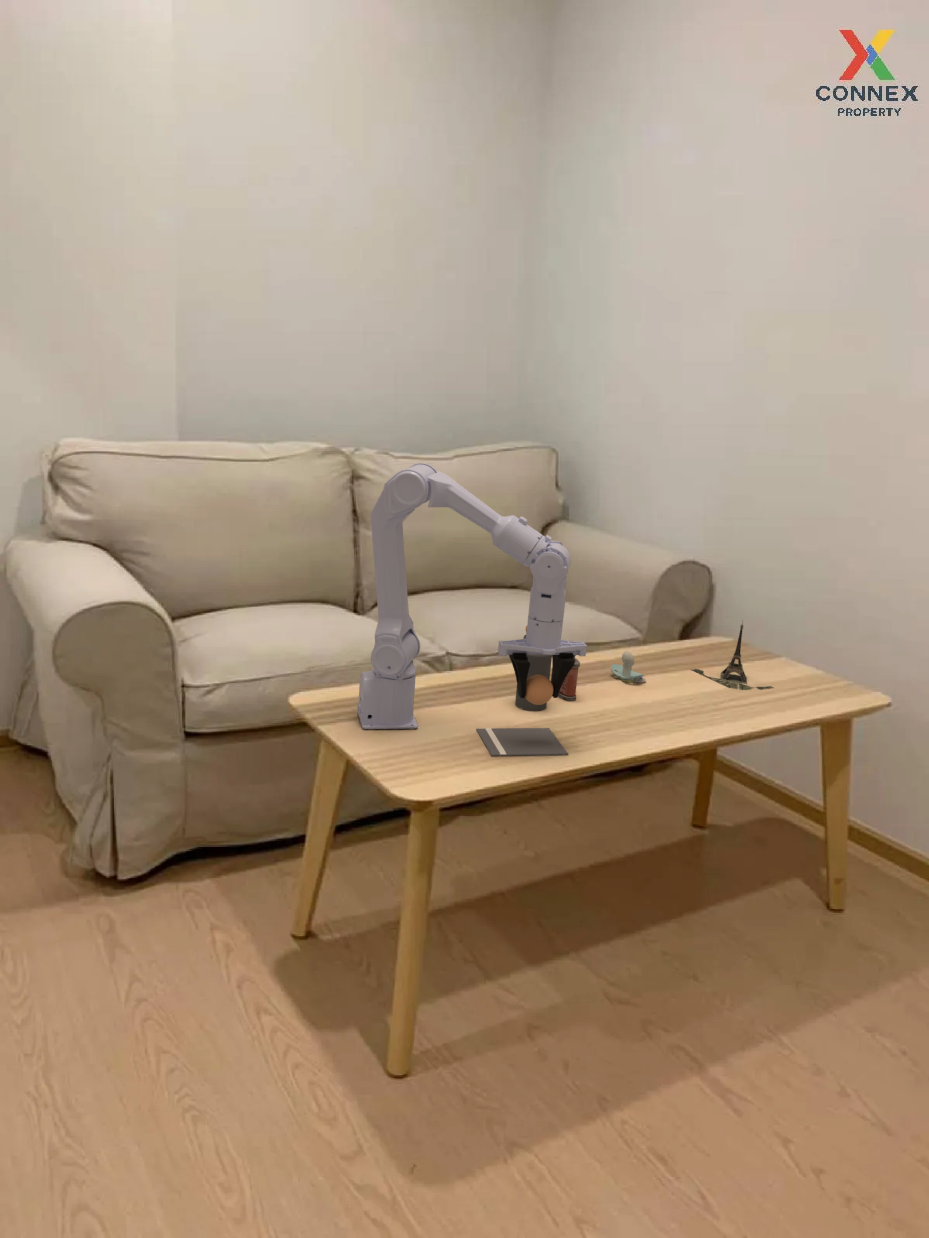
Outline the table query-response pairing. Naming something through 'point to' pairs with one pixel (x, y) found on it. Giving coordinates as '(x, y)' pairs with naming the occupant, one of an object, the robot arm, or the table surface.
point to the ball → (538, 689)
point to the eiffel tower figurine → (731, 679)
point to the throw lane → (521, 742)
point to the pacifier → (627, 669)
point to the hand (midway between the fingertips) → (537, 695)
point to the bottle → (537, 667)
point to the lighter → (570, 683)
